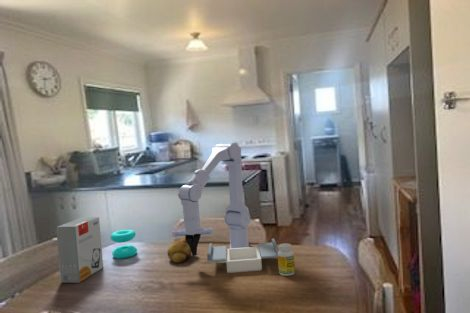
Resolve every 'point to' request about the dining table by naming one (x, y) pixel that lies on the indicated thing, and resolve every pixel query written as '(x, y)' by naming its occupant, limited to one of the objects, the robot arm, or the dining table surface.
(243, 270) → the carton
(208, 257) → the flap
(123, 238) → the donuts
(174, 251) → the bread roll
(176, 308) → the dining table surface
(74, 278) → the hard drive box
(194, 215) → the robot arm
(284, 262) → the supplement bottle
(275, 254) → the flap
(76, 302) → the dining table surface
